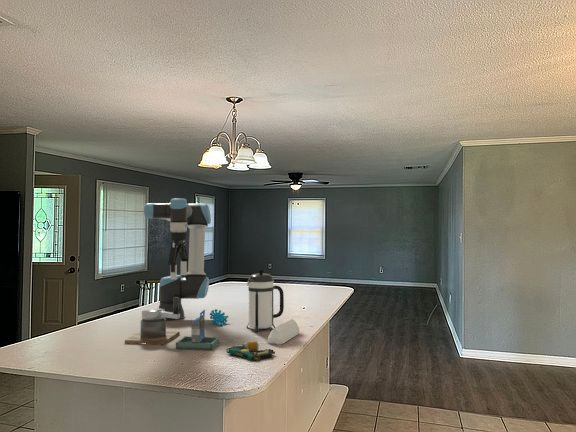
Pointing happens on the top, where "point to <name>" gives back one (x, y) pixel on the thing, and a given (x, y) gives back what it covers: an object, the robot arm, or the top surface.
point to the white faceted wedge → (283, 332)
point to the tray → (205, 344)
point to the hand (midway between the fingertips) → (178, 277)
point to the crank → (161, 313)
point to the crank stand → (153, 333)
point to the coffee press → (262, 301)
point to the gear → (218, 317)
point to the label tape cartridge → (198, 329)
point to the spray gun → (248, 348)
